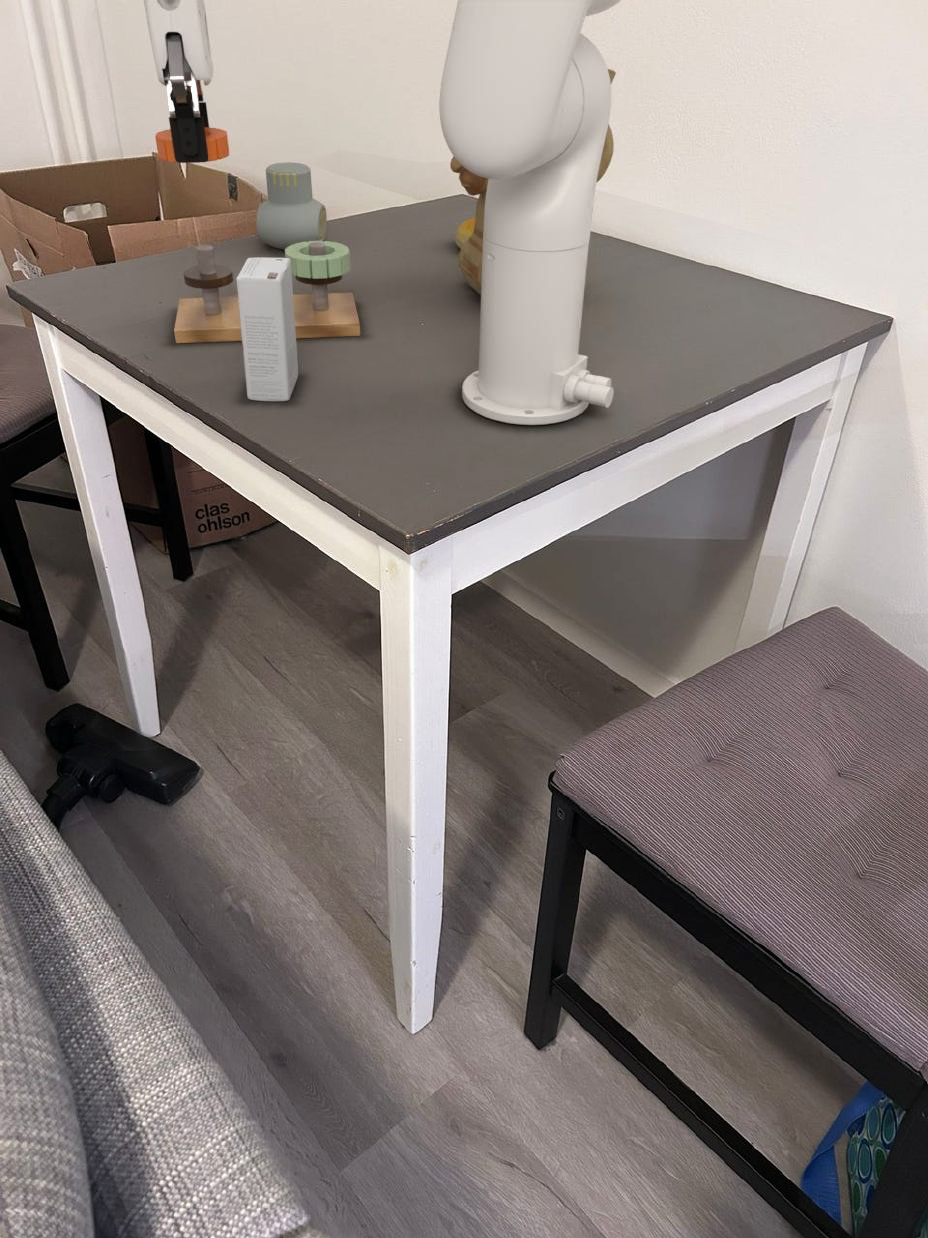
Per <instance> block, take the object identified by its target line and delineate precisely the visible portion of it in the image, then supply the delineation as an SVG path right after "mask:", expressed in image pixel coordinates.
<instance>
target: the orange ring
mask: <svg viewBox="0 0 928 1238" xmlns="http://www.w3.org/2000/svg"><path fill="white" fill-rule="evenodd" d="M205 135H206V142H207V150H208V161H207V162H206V163H208V162H209V163H210V162H215V161H218V160H222V159H226V158H228V157H229V156H230V146H229V138H228V137H229V136H228V132H227V130H225V129H221V128H216V127H210V126H209V127H205ZM154 138H155V144H156V150H157V156H158V158H159V159H160V160H163V161H166V162H170V163H178V162H177V161H176V160H175V156H174V149H173V142H172V136H171V129H170V128H169V129H164V130H160V131H157V132H156V133H155V136H154ZM196 163H197V164H198V163H201V162H195V164H196Z"/></svg>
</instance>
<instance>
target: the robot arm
mask: <svg viewBox="0 0 928 1238" xmlns="http://www.w3.org/2000/svg"><path fill="white" fill-rule="evenodd" d="M621 1H622V0H457V4H456V8H455V13H454V18H453V23H452V28H451V33H450V36H449V41H448V46H447V51H446V55H445V59H444V65H443V69H442V70H443V71H442V76H441V82H440V90H439V102H438V103H439V104H438V105H439V107H438V108H439V111H438V112H439V119H440V127H441V131H442V133H443V138H444V141H445V143H446V145H447V147H448V149H449V151H450V153H451V154H452V156H454V157H455V158H456V160H457V161H458V162H459V163H460V164H461V165H462V166H463V167H464V168H466V169H467V170H468V171H470V172H471V173H473V174H475V175H477V176H480V177H484V178H488V179H489V180H488V185H487V191H486V199H485V210H484V232H483V253H482V283H481V295H480V313H479V315H480V316H479V342H478V343H479V344H478V370H476V371H473V372H472V373H470V375H468V376H467V377H466V378H465V379H464V380H463V383H462V386H461V399H462V400H463V402H464V404H465V405H466V407H468V408H469V409H470V410H471V411H473V412H475V413H476V414H478V415H480V416H482V417H484V418H487V419H490V420H493V421H498V422H501V423H505V424H511V425H518V426H519V425H520V426H544V425H545V426H546V425H551V424H558V423H562V422H566V421H569V420H571V419H573V418H576V417H577V416H579V415H580V414H582V413H583V412H585V410H586V409H587V408H588V407H589V404H590V405H594V406H596V407H602V408H604V409H608V408H610V406H611V405H612V402H613V399H614V394H615V393H614V392H615V390H614V387H613V386H612V378H610V377H607V376H602V375H595V374H592V373H590V370H588V369H587V366H588V358H589V357H588V355H584V354H580V353H579V351H580V350H579V349H580V340H581V328H582V318H583V310H584V309H583V308H584V298H585V297H584V296H585V288H586V287H585V286H586V277H587V268H588V257H589V246H590V239H591V231H592V220H593V210H594V202H595V196H596V187H597V183H598V182H597V176H598V171H599V166H600V161H601V156H602V152H603V147H604V143H605V138H606V133H607V129H608V124H610V123H609V122H610V118H611V117H610V116H611V109H612V84H611V83H610V77H609V72H608V69H609V68H608V67H607V64H606V61H605V58H604V57H603V54H602V53H601V52H600V50H599V48H598V47H597V46H596V45H595V43H593V42H592V41H591V39H590V38H589V37H586V36H585V35H584V34H582V33H581V31H582V29H583V25H584V22H585V19H586V17H589V16H593V15H594V16H595V15H597V14H600V13H603V12H605V11H607V10H609V9H612V8H613V7H615V6H616V5H618V4H619V3H620V2H621ZM143 5H144V10H145V16H146V21H147V29H148V34H149V39H150V44H151V50H152V57H153V60H154V66H155V70H156V74H157V75H156V76H157V79H158V81H159V83H160V84H161V85H162V86H165V87H166V92H167V101H168V102H167V103H168V110H169V117H168V122H169V129H171V136H172V142H173V149H174V156H175V160H176V161H177V162H176V163H177V164H194V163H195V162H200V163H208V162H207V161H208V150H207V142H206V135H205V127H209V128H210V123H209V116H208V110H207V109H208V107H207V102H206V101H204V92H203V87H202V81H203V85H204V86H205V87H206V86H209V85H210V84H211V82H212V81H213V77H214V66H213V59H212V53H211V51H212V50H211V44H210V37H209V29H208V21H207V14H206V7H205V0H143ZM607 68H608V69H607ZM195 164H196V163H195ZM596 182H597V183H596Z"/></svg>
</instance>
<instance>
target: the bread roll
mask: <svg viewBox="0 0 928 1238" xmlns="http://www.w3.org/2000/svg"><path fill="white" fill-rule="evenodd" d="M474 227H475V217H471V218H469V219H467V220H464V221H463V222H462V223H460V225H459V226H458V227H457V228H456V230H455V234H454V235H455V244H456V246H457V247H458V248H459V249H460V250H461V248H462V246H463V245H464V243H465V242H466V241H467V240H468V239H469V238H470V236H471V235H472V233H473V231H474Z"/></svg>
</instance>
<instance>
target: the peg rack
mask: <svg viewBox="0 0 928 1238" xmlns="http://www.w3.org/2000/svg"><path fill="white" fill-rule="evenodd" d="M195 251H196V256H197V257H196V258H197V264H198V265H195V266H191V267H189V268H186V269H184V271H183V279H184V284H185V285H186V286H188V287H190V288H193V289H200V290H201V293H202V297H187V298H186V297H185V298H179V299H178V305H177V310H176V316H175V322H174V328H173V334H174V339H175V343H176V344H194V343H195V344H196V343H220V342H221V343H222V342H242V336H241V326H240V315H239V302H238V296H220V290H219V288H224V287H227V286H229V285H231V284H232V283H233V281H234V275H233V269H232V268H230V267H229V266H226V265H221V264H216V259H215V251H214V247H213V246H212V245H208V244H202V245H198V246H196V248H195ZM309 255H311V256H320V255H326V253H325V244H324V243H320V242H313V243H310V244H309ZM294 278H295V280H296V281H297V282H299V283H302V284H304V285H310V286H311V293H303V294H302V293H301V294H293V303H294V318H295V332H296V339H312V338H313V339H317V338H339V337H340V338H342V337H343V338H344V337H360V336H361V323H360V319H359V314H358V310H357V306H356V301H355V297H354V294H353V292H332V293H331V292H329V287H328V285H331V284H336V283H338V282H340V281H341V280H343V274H342V275H341V276H336V277H332V278H329V277H327V278H321V279H313V278H303V277H298V276H294Z"/></svg>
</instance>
